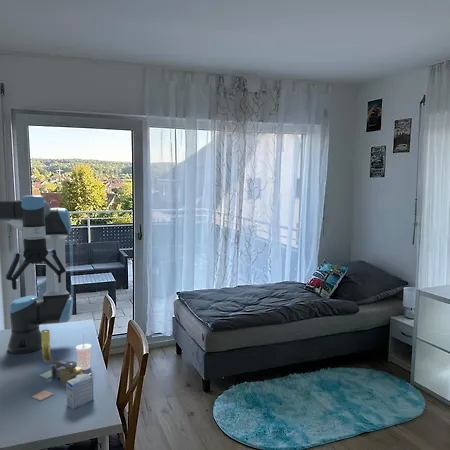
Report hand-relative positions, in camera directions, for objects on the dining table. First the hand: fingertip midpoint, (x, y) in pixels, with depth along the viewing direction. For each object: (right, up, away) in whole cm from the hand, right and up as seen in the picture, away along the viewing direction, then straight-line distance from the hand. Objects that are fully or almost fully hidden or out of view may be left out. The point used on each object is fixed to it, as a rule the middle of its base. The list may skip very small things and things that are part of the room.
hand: (37, 294), depth 154 cm
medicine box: (+19, -36, -10) cm, 42 cm away
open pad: (-1, -34, +11) cm, 36 cm away
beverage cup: (+11, -33, +18) cm, 39 cm away
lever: (+5, -28, +7) cm, 29 cm away
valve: (+11, -34, +5) cm, 36 cm away
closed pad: (+4, -35, -5) cm, 36 cm away
